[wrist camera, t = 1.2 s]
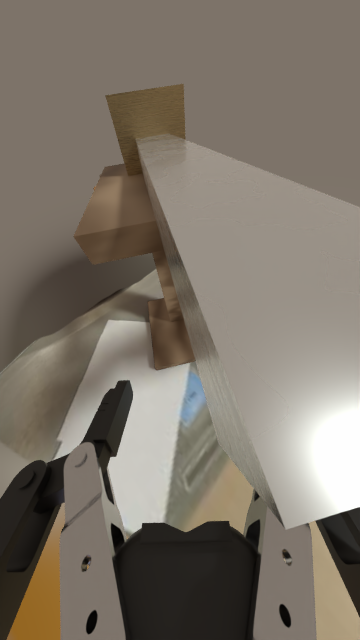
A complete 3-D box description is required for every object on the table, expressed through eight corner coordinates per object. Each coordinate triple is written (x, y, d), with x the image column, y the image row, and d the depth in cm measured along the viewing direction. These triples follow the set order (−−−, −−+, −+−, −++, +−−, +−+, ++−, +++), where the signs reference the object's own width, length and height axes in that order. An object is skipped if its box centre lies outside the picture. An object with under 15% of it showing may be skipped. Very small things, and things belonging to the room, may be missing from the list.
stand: (200, 294, 48) (207, 149, 22) (225, 353, 36) (311, 190, 9) (149, 305, 47) (91, 169, 21) (156, 370, 35) (40, 242, 9)
